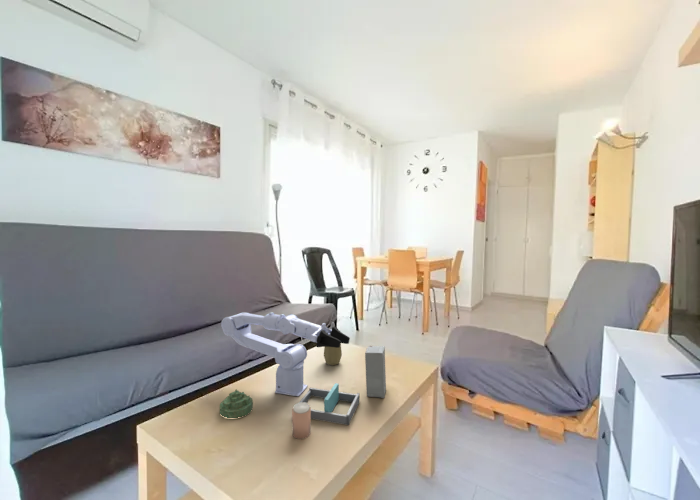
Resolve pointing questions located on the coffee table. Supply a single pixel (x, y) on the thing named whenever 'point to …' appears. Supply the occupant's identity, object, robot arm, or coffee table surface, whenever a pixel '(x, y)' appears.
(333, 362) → the squeeze bottle
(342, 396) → the grey tray
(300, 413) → the jar
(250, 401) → the decorative artifact
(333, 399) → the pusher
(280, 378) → the robot arm
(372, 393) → the skincare box
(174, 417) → the coffee table surface
